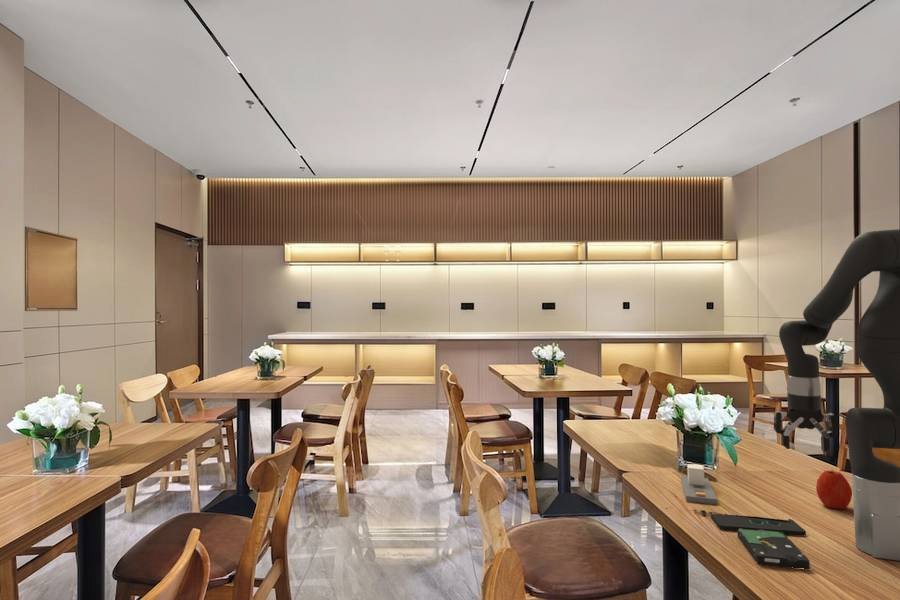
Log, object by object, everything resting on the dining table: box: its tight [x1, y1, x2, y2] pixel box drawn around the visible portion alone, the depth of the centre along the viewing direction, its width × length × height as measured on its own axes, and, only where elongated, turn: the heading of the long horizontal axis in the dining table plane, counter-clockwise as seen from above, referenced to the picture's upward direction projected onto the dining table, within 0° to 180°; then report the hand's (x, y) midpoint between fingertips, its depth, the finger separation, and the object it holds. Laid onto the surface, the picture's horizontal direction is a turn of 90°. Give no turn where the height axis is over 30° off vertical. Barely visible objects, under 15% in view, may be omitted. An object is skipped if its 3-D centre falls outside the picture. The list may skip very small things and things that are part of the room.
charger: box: [686, 463, 705, 485], centre depth 152 cm, size 4×4×6 cm
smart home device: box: [710, 513, 807, 537], centre depth 126 cm, size 8×2×20 cm
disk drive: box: [736, 528, 811, 570], centre depth 112 cm, size 10×3×15 cm
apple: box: [815, 470, 853, 510], centre depth 138 cm, size 8×8×11 cm
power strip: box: [680, 475, 718, 517], centre depth 145 cm, size 26×8×4 cm, turn 158°
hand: (805, 449), depth 132 cm, fingers open, 8 cm apart
